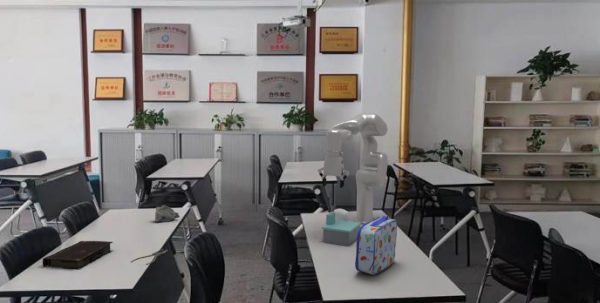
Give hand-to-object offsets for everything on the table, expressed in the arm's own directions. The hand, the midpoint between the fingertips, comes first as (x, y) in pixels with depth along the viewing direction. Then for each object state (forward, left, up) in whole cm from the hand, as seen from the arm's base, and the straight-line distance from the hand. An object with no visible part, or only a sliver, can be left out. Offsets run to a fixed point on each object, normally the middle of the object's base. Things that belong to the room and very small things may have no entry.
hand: (333, 186), depth 236 cm
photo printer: (-14, 0, -28) cm, 31 cm away
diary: (+82, -90, -28) cm, 125 cm away
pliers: (+66, -64, -28) cm, 96 cm away
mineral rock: (+15, -101, -28) cm, 105 cm away
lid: (+1, +6, -22) cm, 23 cm away
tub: (+1, +6, -27) cm, 28 cm away
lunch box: (+31, +34, -28) cm, 54 cm away
